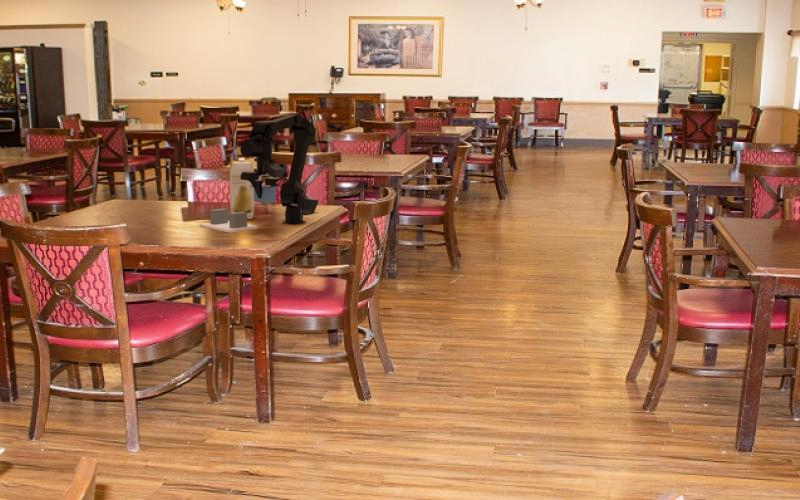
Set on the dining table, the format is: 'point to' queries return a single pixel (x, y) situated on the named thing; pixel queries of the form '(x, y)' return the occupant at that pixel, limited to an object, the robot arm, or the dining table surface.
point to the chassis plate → (228, 221)
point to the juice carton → (241, 188)
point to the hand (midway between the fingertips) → (264, 197)
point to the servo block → (266, 194)
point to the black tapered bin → (310, 207)
